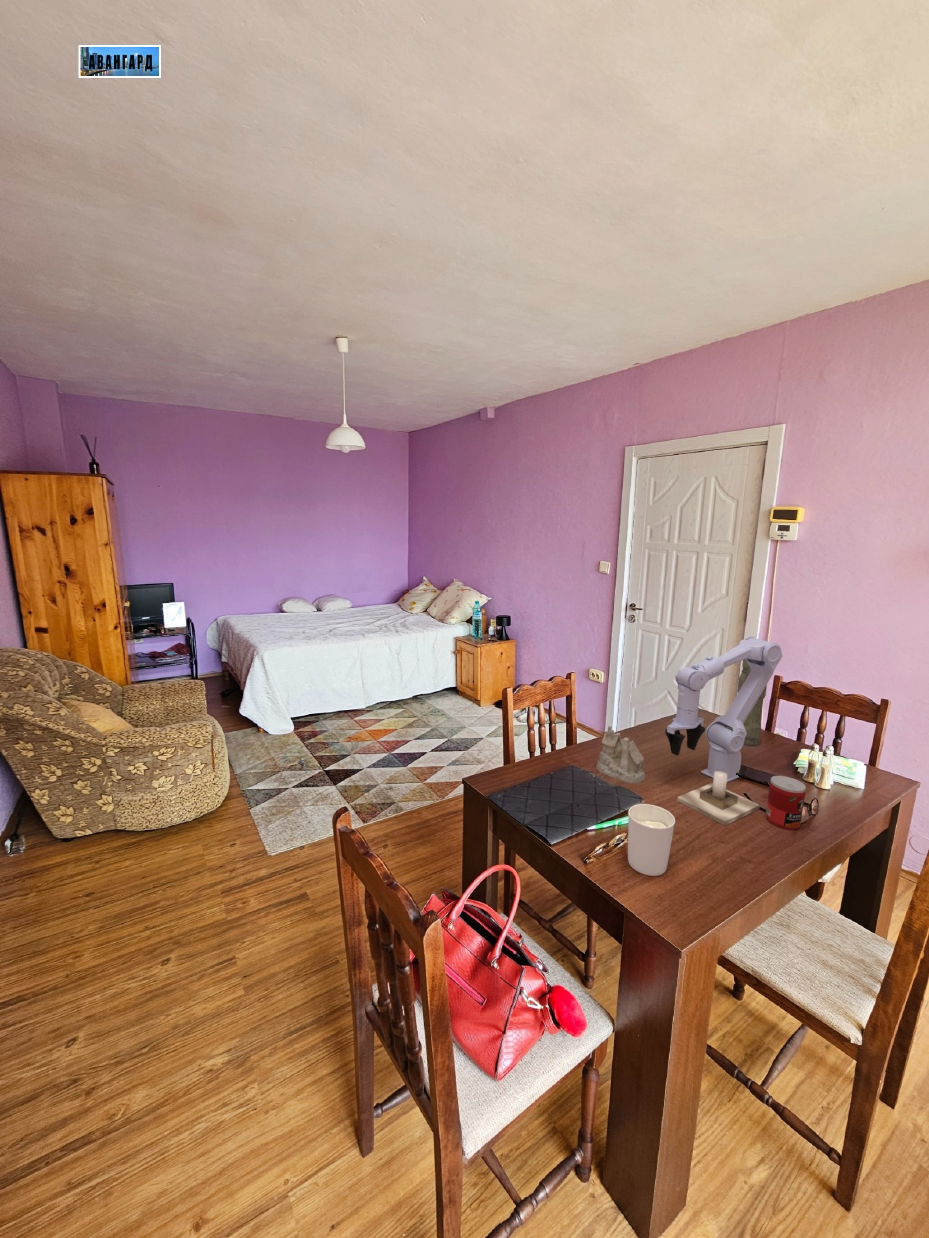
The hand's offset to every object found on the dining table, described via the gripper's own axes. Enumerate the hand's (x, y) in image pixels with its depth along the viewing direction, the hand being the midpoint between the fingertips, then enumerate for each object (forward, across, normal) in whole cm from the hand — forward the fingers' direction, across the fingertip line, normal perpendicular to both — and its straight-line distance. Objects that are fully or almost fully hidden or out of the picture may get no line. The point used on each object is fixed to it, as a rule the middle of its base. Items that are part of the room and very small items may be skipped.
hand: (683, 751), depth 154 cm
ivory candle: (+8, +3, +14) cm, 16 cm away
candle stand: (+9, +3, +14) cm, 17 cm away
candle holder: (+10, +41, +21) cm, 47 cm away
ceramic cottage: (+10, +9, -14) cm, 19 cm away
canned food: (+10, -4, +28) cm, 30 cm away
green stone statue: (+10, -47, -7) cm, 48 cm away
